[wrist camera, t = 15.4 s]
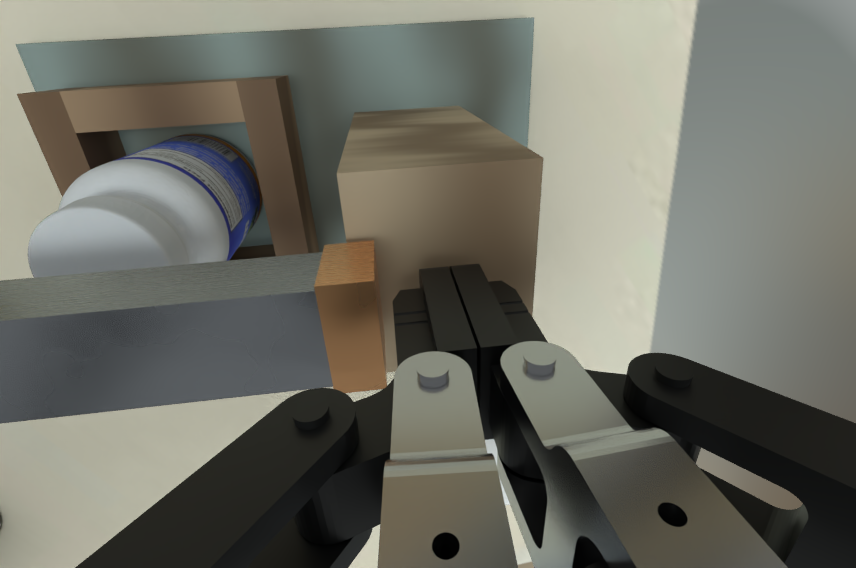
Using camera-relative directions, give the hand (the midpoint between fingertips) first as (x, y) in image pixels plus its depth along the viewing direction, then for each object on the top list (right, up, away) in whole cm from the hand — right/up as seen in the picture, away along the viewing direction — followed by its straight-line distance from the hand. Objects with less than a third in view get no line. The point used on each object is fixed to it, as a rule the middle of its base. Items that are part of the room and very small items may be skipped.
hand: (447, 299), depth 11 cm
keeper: (-7, 0, 0) cm, 7 cm away
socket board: (-6, +6, +12) cm, 15 cm away
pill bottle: (-11, +5, +11) cm, 16 cm away
